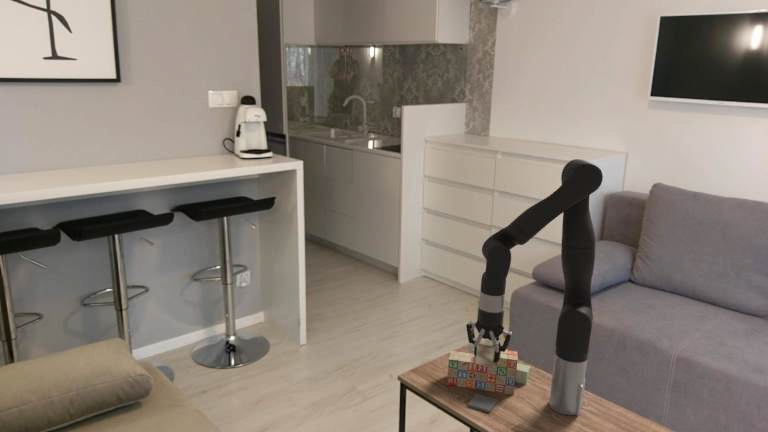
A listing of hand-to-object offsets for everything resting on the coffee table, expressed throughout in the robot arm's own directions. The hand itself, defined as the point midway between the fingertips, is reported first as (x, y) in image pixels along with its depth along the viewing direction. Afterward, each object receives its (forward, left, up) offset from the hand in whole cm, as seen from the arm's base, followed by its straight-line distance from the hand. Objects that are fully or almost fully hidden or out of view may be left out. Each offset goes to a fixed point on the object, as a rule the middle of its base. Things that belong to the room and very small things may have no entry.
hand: (486, 359), depth 175 cm
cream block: (0, 0, -1) cm, 1 cm away
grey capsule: (+11, -22, -15) cm, 29 cm away
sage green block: (-6, -21, -15) cm, 27 cm away
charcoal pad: (0, 0, -15) cm, 15 cm away
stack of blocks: (+4, -10, -15) cm, 19 cm away
